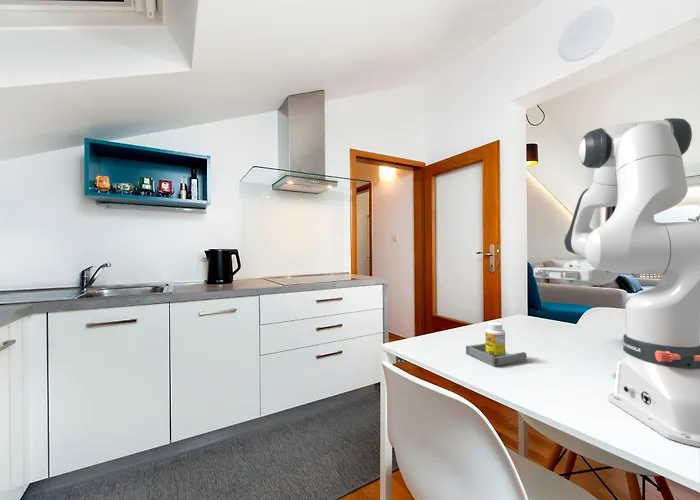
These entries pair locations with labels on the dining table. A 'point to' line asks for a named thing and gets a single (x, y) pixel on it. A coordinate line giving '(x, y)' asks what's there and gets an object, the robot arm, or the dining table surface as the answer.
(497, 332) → the supplement bottle
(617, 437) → the dining table surface
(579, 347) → the dining table surface
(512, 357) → the tray
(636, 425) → the dining table surface
